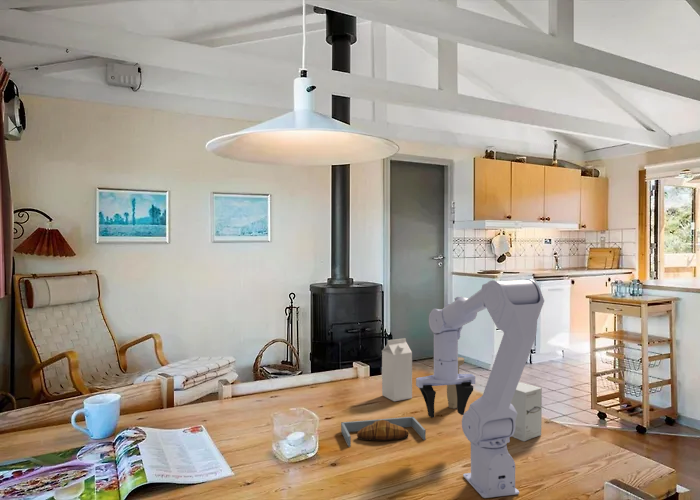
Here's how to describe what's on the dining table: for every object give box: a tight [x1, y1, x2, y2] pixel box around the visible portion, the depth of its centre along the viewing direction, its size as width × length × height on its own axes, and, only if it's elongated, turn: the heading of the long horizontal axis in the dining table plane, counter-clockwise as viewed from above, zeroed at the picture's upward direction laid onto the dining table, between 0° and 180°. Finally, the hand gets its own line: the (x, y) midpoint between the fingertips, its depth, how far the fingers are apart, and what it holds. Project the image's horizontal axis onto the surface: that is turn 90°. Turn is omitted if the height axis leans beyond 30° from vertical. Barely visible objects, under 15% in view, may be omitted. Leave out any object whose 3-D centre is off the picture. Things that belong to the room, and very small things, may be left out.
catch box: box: [340, 416, 427, 447], centre depth 125 cm, size 10×20×2 cm, turn 102°
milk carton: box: [381, 337, 413, 402], centre depth 156 cm, size 7×7×19 cm
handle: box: [446, 356, 465, 409], centre depth 147 cm, size 5×6×15 cm
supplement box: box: [511, 381, 543, 442], centre depth 126 cm, size 7×7×13 cm
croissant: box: [356, 420, 410, 442], centre depth 124 cm, size 14×7×5 cm, turn 94°
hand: (446, 414), depth 115 cm, fingers open, 7 cm apart
